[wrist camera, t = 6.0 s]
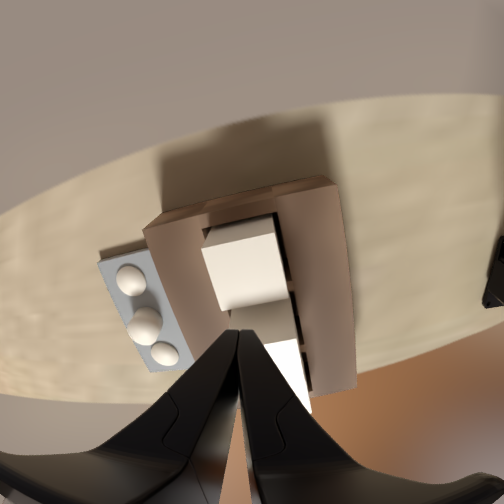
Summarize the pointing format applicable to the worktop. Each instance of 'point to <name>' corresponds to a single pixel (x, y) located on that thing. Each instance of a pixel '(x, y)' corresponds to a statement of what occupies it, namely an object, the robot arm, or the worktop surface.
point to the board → (295, 266)
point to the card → (146, 299)
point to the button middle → (274, 335)
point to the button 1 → (245, 262)
